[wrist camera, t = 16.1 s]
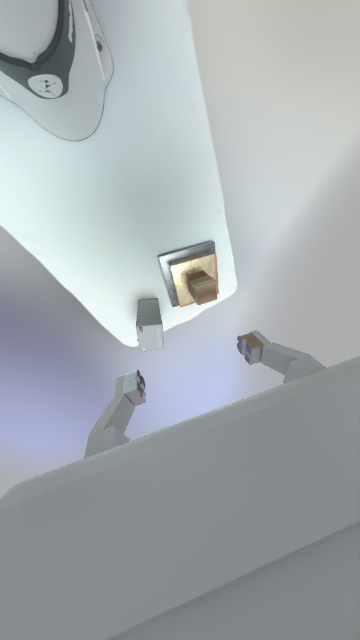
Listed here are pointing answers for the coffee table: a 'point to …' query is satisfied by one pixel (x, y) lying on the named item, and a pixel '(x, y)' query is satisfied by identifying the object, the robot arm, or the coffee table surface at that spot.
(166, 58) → the coffee table surface
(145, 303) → the skincare box
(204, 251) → the stand
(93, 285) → the coffee table surface
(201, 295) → the walnut column
